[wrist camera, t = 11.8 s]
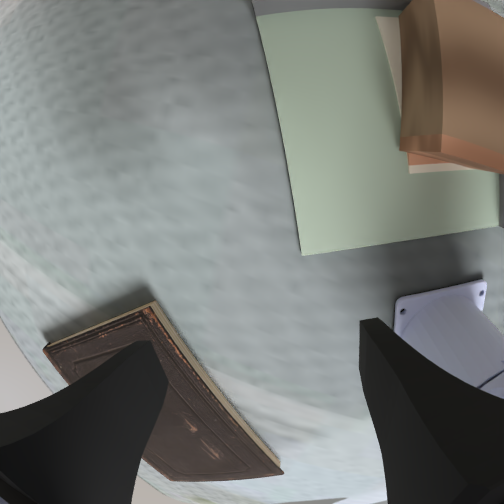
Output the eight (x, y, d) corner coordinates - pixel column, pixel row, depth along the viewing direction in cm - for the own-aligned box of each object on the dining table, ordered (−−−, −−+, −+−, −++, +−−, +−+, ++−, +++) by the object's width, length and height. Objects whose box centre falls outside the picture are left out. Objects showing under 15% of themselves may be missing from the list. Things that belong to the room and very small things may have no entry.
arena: (506, 222, 15) (525, 232, 13) (301, 253, 18) (303, 268, 16) (471, 12, 10) (488, 3, 8) (252, 4, 13) (248, -14, 11)
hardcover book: (161, 292, 21) (148, 308, 18) (284, 458, 26) (283, 474, 24) (51, 339, 24) (39, 351, 22) (172, 468, 30) (167, 481, 28)
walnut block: (398, 15, 12) (429, -19, 7) (468, 42, 11) (510, 22, 6) (399, 150, 14) (441, 152, 10) (470, 168, 14) (520, 178, 9)
